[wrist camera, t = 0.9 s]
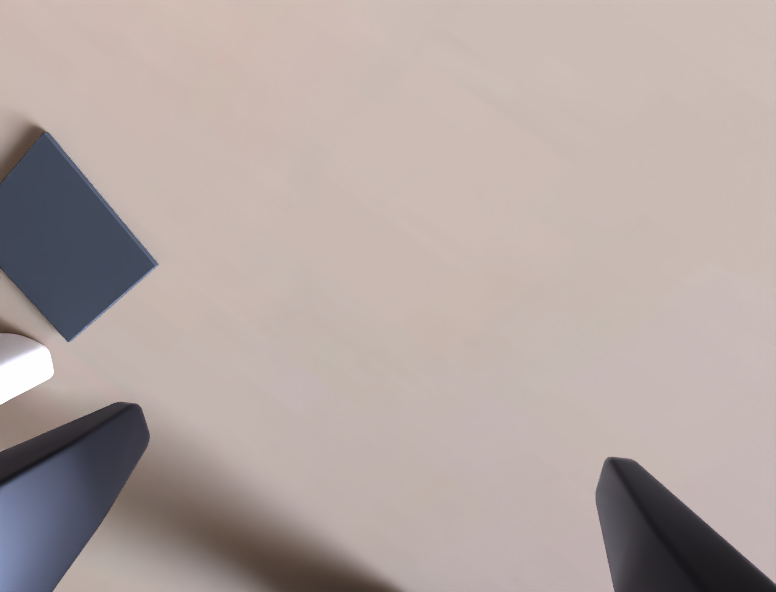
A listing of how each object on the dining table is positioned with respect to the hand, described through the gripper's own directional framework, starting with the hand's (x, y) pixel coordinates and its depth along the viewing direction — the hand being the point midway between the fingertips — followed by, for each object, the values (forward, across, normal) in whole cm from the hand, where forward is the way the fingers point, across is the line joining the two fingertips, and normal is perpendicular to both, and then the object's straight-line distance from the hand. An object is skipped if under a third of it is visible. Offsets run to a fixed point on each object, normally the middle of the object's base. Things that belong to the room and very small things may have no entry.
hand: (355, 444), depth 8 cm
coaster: (+14, +22, +1) cm, 26 cm away
